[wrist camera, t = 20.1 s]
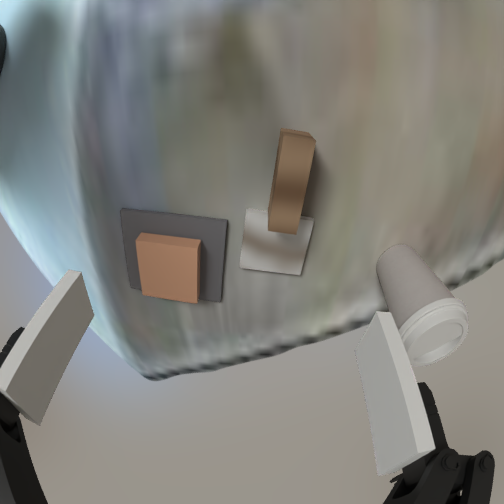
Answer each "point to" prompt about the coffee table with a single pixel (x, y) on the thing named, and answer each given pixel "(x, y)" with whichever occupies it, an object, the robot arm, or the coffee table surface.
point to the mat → (185, 227)
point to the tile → (169, 267)
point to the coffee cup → (421, 306)
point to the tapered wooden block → (282, 211)
